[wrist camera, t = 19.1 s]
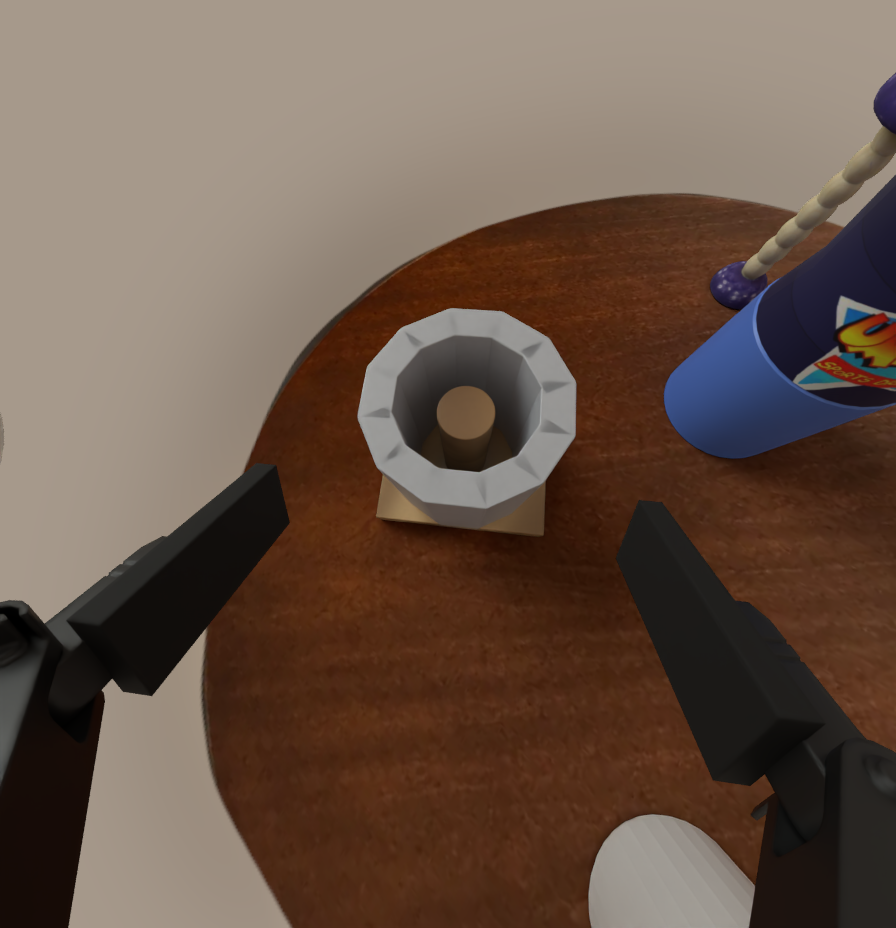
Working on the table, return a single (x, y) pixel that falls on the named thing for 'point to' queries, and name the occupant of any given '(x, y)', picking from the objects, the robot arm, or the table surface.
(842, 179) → the toy lamp
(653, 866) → the mug
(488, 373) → the silver tape
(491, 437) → the stand
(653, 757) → the table surface
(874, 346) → the water bottle
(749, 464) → the table surface
